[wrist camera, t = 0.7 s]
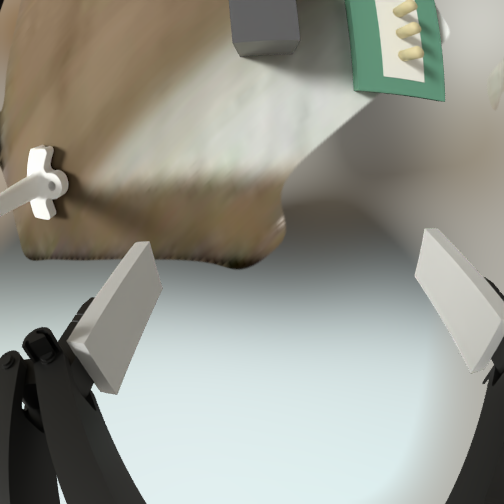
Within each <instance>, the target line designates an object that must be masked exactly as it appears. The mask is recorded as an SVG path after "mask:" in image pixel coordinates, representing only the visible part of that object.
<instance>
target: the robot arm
mask: <svg viewBox="0 0 504 504" xmlns="http://www.w3.org/2000/svg"><path fill="white" fill-rule="evenodd" d="M415 278H416V279H417V281H418V282H419V284H420V285H421V287H422V288H423V290H424V292H425V293H426V295H427V296H428V298H429V300H430V301H431V303H432V304H433V306H434V308H435V309H436V311H437V313H438V314H439V316H440V318H441V319H442V321H443V323H444V325H445V326H446V328H447V330H448V332H449V333H450V335H451V337H452V339H453V341H454V342H455V344H456V346H457V348H458V350H459V352H460V354H461V355H462V357H463V359H464V361H465V363H466V365H467V367H468V369H469V371H470V373H471V374H472V373H475V372H478V371H481V370H484V369H485V368H486V366H487V364H488V363H489V361H490V360H491V359H492V361H493V363H494V366H493V367H492V369H491V370H490V372H489V373H488V375H487V376H486V378H485V379H484V381H483V384H485V382H486V381H487V380H488V379H489V382H488V385H487V391H486V395H485V399H484V403H483V407H482V411H481V414H480V418H479V421H478V425H477V428H476V431H475V434H474V437H473V440H472V443H471V446H470V449H469V451H468V454H467V457H466V459H465V462H464V464H463V467H462V469H461V472H460V474H459V476H458V478H457V481H456V483H455V485H454V487H453V489H452V492H451V493H450V496H449V498H448V500H447V501H446V503H445V504H504V296H503V294H502V293H501V292H499V289H498V288H497V287H496V286H495V285H494V283H492V282H491V281H490V280H488V279H487V278H485V277H483V276H482V275H481V274H480V273H479V272H478V270H477V269H476V268H475V267H474V266H473V265H472V264H471V263H470V261H469V260H468V259H467V258H466V257H465V256H464V255H463V254H462V253H461V252H460V251H459V250H458V249H457V248H456V247H455V246H454V245H453V244H452V243H451V241H450V240H449V239H448V238H447V237H446V236H444V235H443V233H442V232H441V231H439V230H438V229H437V228H425V230H424V235H423V240H422V245H421V250H420V255H419V259H418V264H417V268H416V272H415ZM162 289H163V288H162V285H161V282H160V278H159V274H158V271H157V267H156V264H155V260H154V256H153V253H152V249H151V245H150V241H146V242H135V243H134V245H133V246H132V247H131V249H130V250H129V251H128V253H127V254H126V255H125V257H124V258H123V259H122V261H121V262H120V263H119V265H118V266H117V267H116V269H115V270H114V271H113V273H112V274H111V276H110V277H109V279H108V280H107V281H106V282H105V284H104V285H103V287H102V288H101V290H100V291H99V293H98V294H97V295H96V297H95V298H93V297H92V298H90V299H89V300H88V301H87V302H85V303H84V304H83V305H82V307H81V308H80V309H79V311H78V312H77V315H75V317H74V318H73V320H72V322H71V323H70V324H69V326H68V327H67V329H66V330H65V332H64V333H63V335H62V336H61V338H60V340H59V341H58V342H57V340H56V338H55V337H54V335H53V333H52V332H51V330H50V329H48V328H46V327H41V328H37V329H35V330H33V331H32V332H31V333H29V334H28V335H27V336H26V338H25V339H24V341H23V344H22V347H23V349H24V350H25V352H26V353H27V355H28V356H29V358H30V359H26V360H24V359H23V358H22V357H21V355H20V354H19V352H17V351H9V352H7V353H5V354H4V355H2V357H1V358H0V504H60V499H59V493H58V486H57V478H58V481H59V484H60V486H61V489H62V492H63V494H64V497H65V500H66V503H67V504H146V502H145V501H144V499H143V498H142V496H141V494H140V492H139V491H138V489H137V487H136V485H135V484H134V482H133V480H132V478H131V476H130V474H129V472H128V471H127V469H126V467H125V465H124V463H123V461H122V459H121V457H120V455H119V453H118V451H117V449H116V446H115V444H114V442H113V440H112V438H111V435H110V433H109V431H108V429H107V426H106V424H105V421H104V419H103V417H102V414H101V412H100V409H99V407H98V404H97V401H96V398H95V396H94V394H93V392H92V391H91V388H92V385H93V383H95V385H96V386H97V388H98V389H99V390H100V392H105V393H110V394H115V395H117V394H118V391H119V389H120V386H121V384H122V381H123V378H124V376H125V374H126V371H127V369H128V366H129V364H130V361H131V359H132V356H133V354H134V352H135V349H136V347H137V345H138V342H139V340H140V338H141V336H142V333H143V331H144V329H145V326H146V324H147V322H148V320H149V317H150V315H151V313H152V310H153V308H154V306H155V304H156V302H157V300H158V297H159V295H160V293H161V291H162ZM22 402H23V403H24V404H25V407H24V409H22Z"/></svg>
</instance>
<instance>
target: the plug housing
mask: <svg viewBox="0 0 504 504" xmlns="http://www.w3.org/2000/svg"><path fill="white" fill-rule="evenodd" d="M229 8H230V19H231V30H232V41H233V45H234V47H235V48H236V50H237V52H238V54H239V56H240V57H244V56H257V55H275V54H293V52H294V51H295V49H296V47H297V45H298V43H299V41H300V32H299V23H298V14H297V6H296V0H229Z"/></svg>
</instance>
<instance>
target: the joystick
mask: <svg viewBox="0 0 504 504" xmlns="http://www.w3.org/2000/svg"><path fill="white" fill-rule="evenodd" d="M53 152H54V149H53V147H52V146H48V147H45V145H41V146H38V147H35V148H32V149H31V150H30V153H29V159H28V167H27V177H26V178H24V179H22V180H21V181H19V182H17V183H16V184H14V185H12V186H11V187H9V188H8V189H6V190H5V191H3V192H1V193H0V217H1V216H2V215H4V214H6V213H8V212H9V211H12V210H13V209H15V208H17V207H19V206H21V205H23V204H25V203H27V202H29V201H30V203H31V207H32V210H33V213H34V216H35V217H36V218H41V219H46V220H49V219H50V218H52V217H53V216H54V215H56V209H55V207H54V204H53V201H52V199H57V198H58V197H60V196H62V195H63V194H65V193H66V192H67V190H68V179H67V176H66V175H65V173H64V172H62V171H61V170H53V169H52V168H51V159H52V155H53Z"/></svg>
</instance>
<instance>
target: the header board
mask: <svg viewBox="0 0 504 504" xmlns="http://www.w3.org/2000/svg"><path fill="white" fill-rule="evenodd" d="M345 6H346V13H347V20H348V28H349V37H350V47H351V58H352V70H353V86H354V91H365V92H376V93H386V94H396V95H404V96H410V97H418V98H423V99H430V100H436V101H444V102H445V86H444V85H445V84H444V69H443V56H442V48H441V39H440V31H439V25H438V19H437V13H436V8H435V3H434V0H345Z"/></svg>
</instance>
